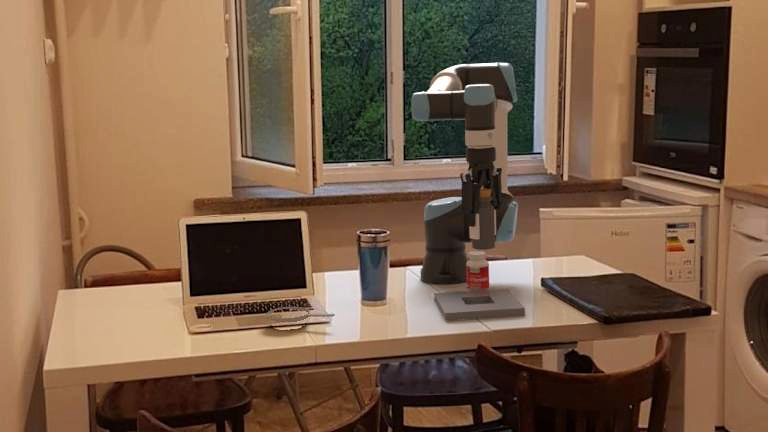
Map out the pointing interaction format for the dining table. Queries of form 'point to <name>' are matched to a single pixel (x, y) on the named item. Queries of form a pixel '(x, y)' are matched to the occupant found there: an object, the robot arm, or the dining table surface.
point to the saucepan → (297, 317)
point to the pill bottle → (477, 271)
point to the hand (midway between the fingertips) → (483, 236)
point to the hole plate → (478, 304)
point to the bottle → (485, 222)
